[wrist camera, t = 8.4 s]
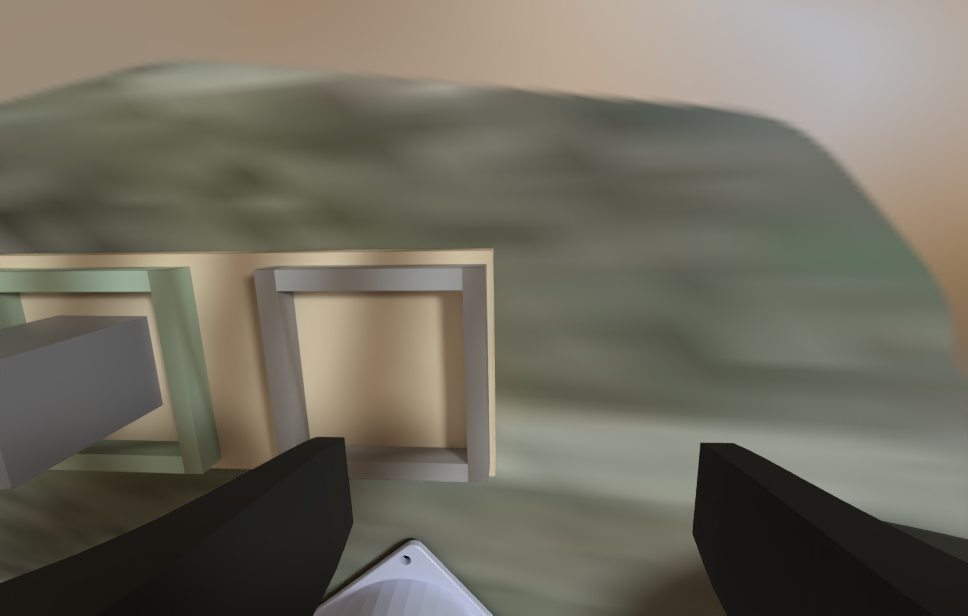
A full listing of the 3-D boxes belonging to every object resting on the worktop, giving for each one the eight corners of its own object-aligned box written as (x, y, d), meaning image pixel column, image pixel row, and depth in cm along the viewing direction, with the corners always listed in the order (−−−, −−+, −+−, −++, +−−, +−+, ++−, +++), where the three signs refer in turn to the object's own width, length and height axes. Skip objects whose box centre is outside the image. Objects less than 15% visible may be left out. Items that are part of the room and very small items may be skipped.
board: (493, 248, 18) (489, 253, 16) (495, 463, 20) (493, 493, 18) (14, 253, 20) (-48, 259, 17) (63, 451, 22) (14, 478, 20)
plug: (146, 316, 19) (-23, 366, 13) (163, 404, 20) (11, 489, 14) (58, 315, 19) (-147, 363, 13) (78, 403, 20) (-106, 485, 14)
